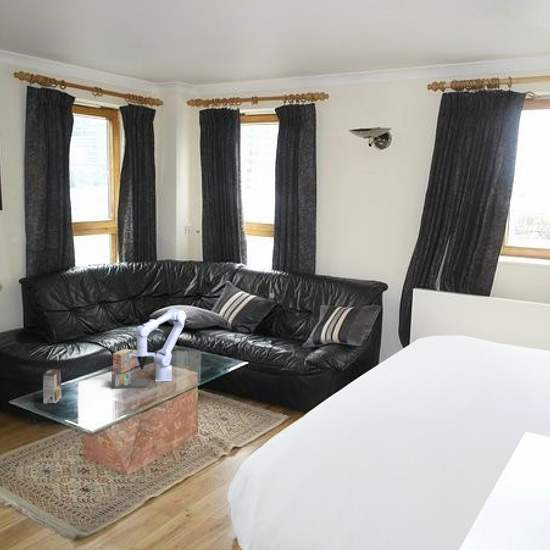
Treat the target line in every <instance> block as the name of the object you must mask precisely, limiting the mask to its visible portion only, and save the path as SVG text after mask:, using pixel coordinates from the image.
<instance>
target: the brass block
mask: <svg viewBox="0 0 550 550" xmlns="http://www.w3.org/2000/svg"><path fill="white" fill-rule="evenodd" d="M124 374H125V373H118V375H119V385H124Z"/></svg>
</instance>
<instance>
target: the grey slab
mask: <svg viewBox="0 0 550 550" xmlns="http://www.w3.org/2000/svg"><path fill="white" fill-rule="evenodd" d="M139 388H140V389H141V388H145V389H146V388H148V379H147V378H143V379H142V378H141V379H139V378H138V379H131V382H130V384H128V386H124V385H119V374H117V373H115V372H114V373H112V374H111V390H117V389H139Z"/></svg>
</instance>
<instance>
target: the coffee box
mask: <svg viewBox="0 0 550 550" xmlns="http://www.w3.org/2000/svg"><path fill="white" fill-rule="evenodd" d="M61 375H62V372H61V369H54V368H53V369H51V368H50V369H48V370H47V371H45V372H44V373H43V374H42V387H43V388H42V389H43V393H42V394H43V396H42V397H43V404H47V403H55V404H56V403H57V402H59V399H60V398H61V399H62V376H61ZM61 399H60V400H61Z"/></svg>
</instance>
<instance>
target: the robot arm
mask: <svg viewBox="0 0 550 550" xmlns="http://www.w3.org/2000/svg"><path fill="white" fill-rule="evenodd" d="M186 319H187V314H186V312H185V311H184V310H181V309H178V308H175V307H172V308H171V309H168V310H167V312H165V313H163V314H162V315H161V316H159V317H158V318H156V319H149V321H147V322H146V323H143V324H142V325H138V326H137V327H136V328H135V330H134V333H135V334H136V350H137V353H131V354H129V358H131V357H137V359H138V361H139V364H140V365H139V366H140V370H144V366H145V364H146V361H147V359H148V358H151V357H152V358H153V361H154V363H155V378H154V380H155V382H156V383H157V382H159V383H161V382H172V379H173V374H172V373H173V372H172V371H173V370H172V364H171V360H172V358H173V355H172V350H174V349H173V348H174V347H175V345H176V343H177V341H178V338H179V337H180V335H181V333H182V331H183V328H184V327H185V321H186ZM169 320H171V321H172V323H173V327H172V329H171V331H170V332H169V335H168V337H167V339H166V341H165V343H164V345H163V347H162V348H161V349H159V350H158V351H157V353H155V352H148V336H149V334H150V333H151V332H152V331H155V330H156V329H158V327H159V325H161V324H163V323H165V322H168V321H169Z"/></svg>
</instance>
